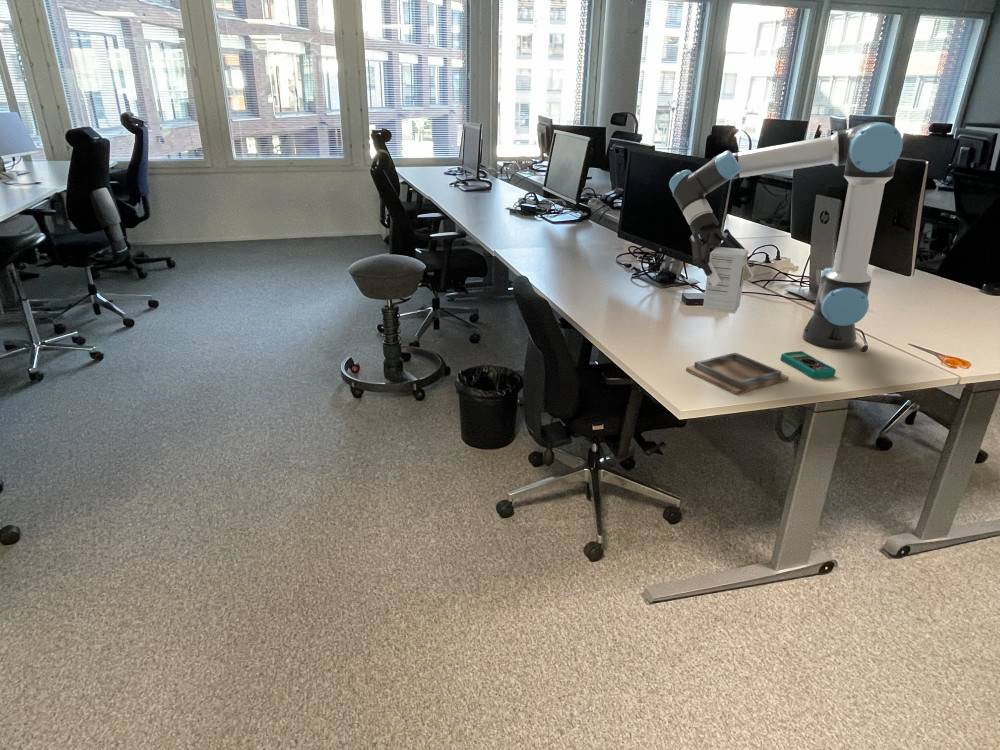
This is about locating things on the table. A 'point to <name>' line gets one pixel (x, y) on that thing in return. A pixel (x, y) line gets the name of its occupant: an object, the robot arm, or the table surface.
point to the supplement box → (726, 280)
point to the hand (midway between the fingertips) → (733, 281)
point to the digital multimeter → (808, 364)
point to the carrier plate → (736, 373)
